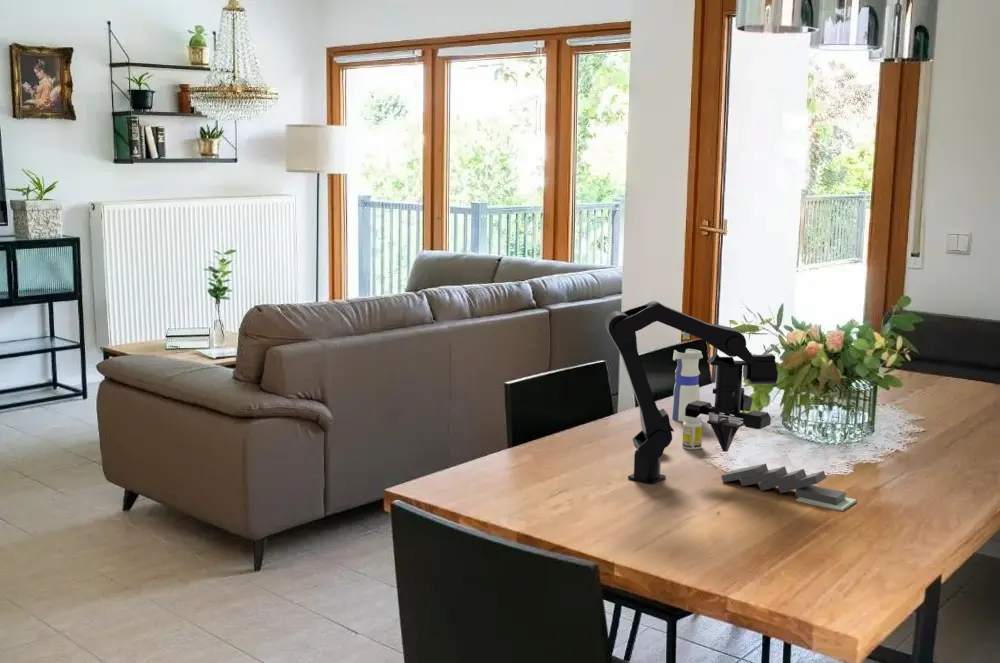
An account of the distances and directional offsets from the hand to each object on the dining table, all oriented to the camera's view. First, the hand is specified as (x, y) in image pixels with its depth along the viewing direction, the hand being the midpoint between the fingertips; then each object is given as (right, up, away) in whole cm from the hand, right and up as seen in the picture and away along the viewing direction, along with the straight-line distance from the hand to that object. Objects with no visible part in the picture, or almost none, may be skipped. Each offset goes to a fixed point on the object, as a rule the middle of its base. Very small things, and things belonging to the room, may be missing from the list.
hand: (725, 451), depth 236 cm
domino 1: (+1, -6, 0) cm, 6 cm away
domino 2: (+4, -6, -2) cm, 8 cm away
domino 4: (+11, -7, -8) cm, 15 cm away
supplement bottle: (-3, -2, +27) cm, 27 cm away
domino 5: (+14, -7, -10) cm, 19 cm away
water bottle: (+1, +3, +56) cm, 56 cm away
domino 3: (+8, -7, -5) cm, 11 cm away
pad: (+19, -9, -14) cm, 25 cm away
